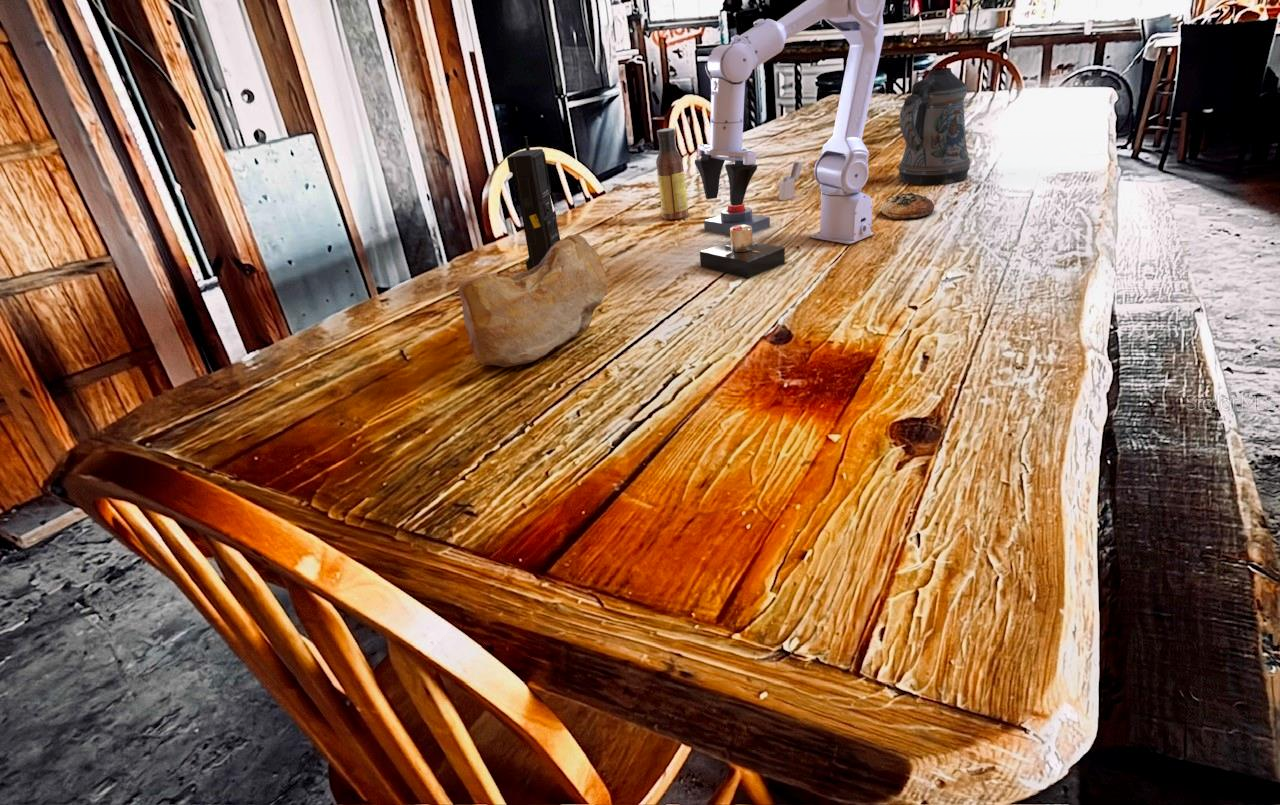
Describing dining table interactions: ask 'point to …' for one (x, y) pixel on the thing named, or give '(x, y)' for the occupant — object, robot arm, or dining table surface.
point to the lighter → (789, 182)
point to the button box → (736, 221)
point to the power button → (736, 208)
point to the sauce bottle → (671, 177)
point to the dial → (741, 238)
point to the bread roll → (907, 206)
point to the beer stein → (934, 131)
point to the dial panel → (742, 259)
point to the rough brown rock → (534, 305)
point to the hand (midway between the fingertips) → (723, 201)
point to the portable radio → (534, 202)
